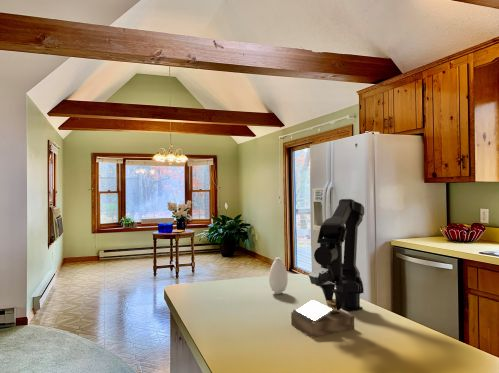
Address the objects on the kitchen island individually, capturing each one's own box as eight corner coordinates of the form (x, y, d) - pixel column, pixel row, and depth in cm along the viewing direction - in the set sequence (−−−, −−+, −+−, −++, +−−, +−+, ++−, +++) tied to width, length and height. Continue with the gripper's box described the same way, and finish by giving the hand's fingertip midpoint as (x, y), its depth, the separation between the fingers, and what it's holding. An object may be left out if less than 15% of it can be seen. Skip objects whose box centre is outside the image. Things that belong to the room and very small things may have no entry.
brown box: (331, 317, 131) (331, 303, 131) (354, 328, 120) (354, 313, 120) (291, 324, 124) (291, 309, 124) (311, 337, 113) (311, 320, 114)
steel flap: (313, 301, 127) (312, 300, 127) (332, 310, 117) (332, 309, 117) (296, 312, 125) (295, 310, 125) (315, 322, 115) (314, 320, 115)
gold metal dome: (335, 312, 127) (335, 298, 127) (343, 316, 123) (343, 301, 123) (323, 314, 125) (323, 299, 125) (332, 318, 121) (332, 303, 121)
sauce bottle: (266, 292, 164) (265, 251, 164) (281, 290, 167) (281, 249, 168) (274, 297, 157) (274, 253, 157) (291, 294, 160) (290, 252, 160)
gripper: (297, 257, 130) (297, 303, 129) (329, 267, 113) (330, 320, 112) (324, 255, 134) (324, 299, 134) (359, 264, 117) (360, 314, 117)
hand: (333, 307), depth 124 cm, fingers closed on gold metal dome, 5 cm apart
